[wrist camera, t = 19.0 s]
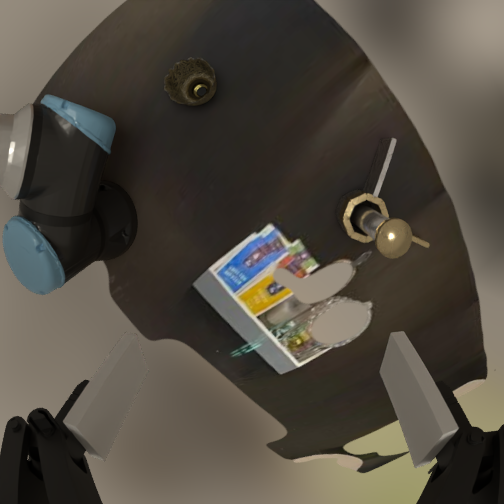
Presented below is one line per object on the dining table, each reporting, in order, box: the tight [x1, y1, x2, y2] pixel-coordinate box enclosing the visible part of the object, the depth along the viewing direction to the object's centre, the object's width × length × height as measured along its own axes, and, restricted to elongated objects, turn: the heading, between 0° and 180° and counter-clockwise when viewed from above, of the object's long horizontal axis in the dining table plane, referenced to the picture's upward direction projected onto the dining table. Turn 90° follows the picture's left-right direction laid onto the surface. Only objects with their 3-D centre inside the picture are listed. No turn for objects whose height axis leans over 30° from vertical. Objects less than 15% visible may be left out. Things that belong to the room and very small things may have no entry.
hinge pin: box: [349, 203, 412, 258], centre depth 37 cm, size 5×5×16 cm
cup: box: [164, 57, 217, 106], centre depth 35 cm, size 8×7×8 cm
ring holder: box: [336, 138, 430, 248], centre depth 41 cm, size 14×20×5 cm
